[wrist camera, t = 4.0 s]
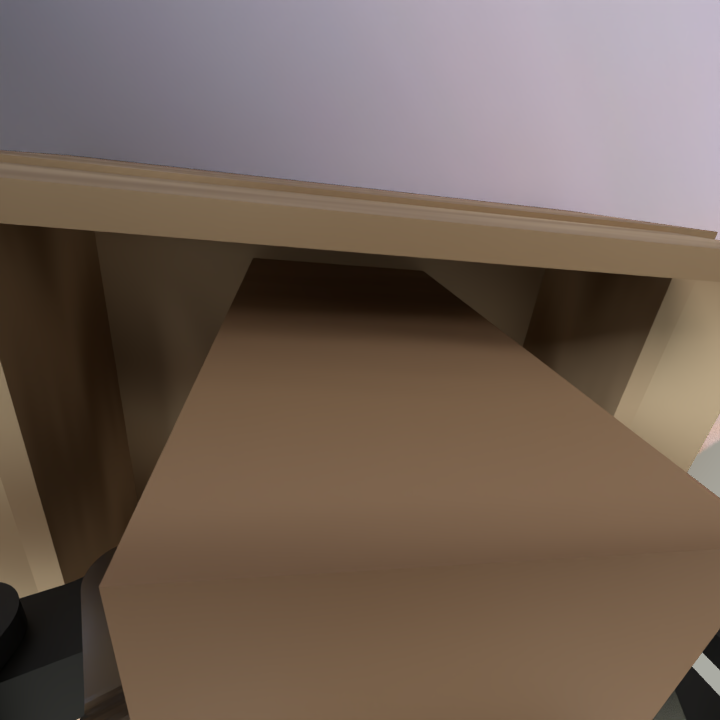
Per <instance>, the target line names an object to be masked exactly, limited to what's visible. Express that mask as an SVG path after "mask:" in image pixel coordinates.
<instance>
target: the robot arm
mask: <svg viewBox="0 0 720 720" xmlns="http://www.w3.org/2000/svg"><path fill="white" fill-rule="evenodd" d="M117 547H118V546H116V547H114V548H112V549H110V550H109V551H107V552H106V553H104V554H103V555H102V556H101V557H99V558H98V559H97V560H96V561H95V562H94V563H93V564H92V565H91V566H90V568H89V569H88V570H87V572H86V574H85V576H84V577H82V578H79V579H77V580H75V581H73V582H70V583H67V584H64V585H61V586H58V587H55V588H51V589H48V590H45V591H42V592H39V593H35V594H32V595H29V596H26V597H22V598H19V595H18V593H17V591H16V590H15V588H13V587H12V586H11V585H9V584H6V583H3V582H0V720H77V719H79V718H80V720H130V717H129V712H128V708H127V704H126V700H125V696H124V691H123V687H122V683H121V679H120V675H119V670H118V666H117V662H116V658H115V654H114V649H113V645H112V641H111V637H110V633H109V628H108V624H107V620H106V616H105V612H104V607H103V603H102V599H101V595H100V591H99V585H100V583H101V581H102V579H103V577H104V575H105V573H106V570H107V568H108V566H109V564H110V562H111V560H112V558H113V555H114V553H115V551H116V549H117ZM703 653H704V654H705V655H706V656H707V658H708V659H709V660H711V661H712V663H713V664H714V665H716V666H717V668H718V669H719V670H720V629H719V630H718V632H717V633H716V634H715V636H714V637H713V638H712V640H711V641H710V642H709V644H708V645H707V646H706V648H705V649H704V651H703ZM653 720H720V696H719V695H718V694H717V693H716V692H715V691H714V690H713V688H712V687H711V686H710V685H709V684H708V683H707V682H706V681H705V680H704V679H703V678H702V677H701V676H700V675H699V674H698V673H697V671H696V670H695V669H694V668H693V667H691V668H690V669H689V671H688V672H687V674H686V675H685V676H684V678H683V679H682V680H681V682H680V683H679V684H678V686H677V687H676V688H675V690H674V691H673V692H672V694H671V695H670V697H669V698H668V699H667V701H666V702H665V703H664V705H663V706H662V707H661V709H660V710H659V711H658V713H657V714H656V715H655V717H654V718H653Z"/></svg>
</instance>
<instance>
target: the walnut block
mask: <svg viewBox="0 0 720 720" xmlns="http://www.w3.org/2000/svg"><path fill="white" fill-rule="evenodd" d="M99 591H100V595H101V599H102V603H103V607H104V612H105V616H106V620H107V624H108V628H109V633H110V637H111V641H112V645H113V649H114V654H115V658H116V662H117V666H118V670H119V675H120V679H121V683H122V687H123V691H124V696H125V700H126V704H127V708H128V712H129V717H130V720H653V718H654V717H655V715H656V714H657V713H658V711H659V710H660V709H661V707H662V706H663V705H664V703H665V702H666V701H667V699H668V698H669V697H670V695H671V694H672V692H673V691H674V690H675V688H676V687H677V686H678V684H679V683H680V682H681V680H682V679H683V678H684V676H685V675H686V674H687V672H688V671H689V669H690V668H691V667H692V665H693V664H694V663H695V661H696V660H697V659H698V657H699V656H700V655H701V653H702V652H703V651H704V649H705V648H706V646H707V645H708V644H709V642H710V641H711V640H712V638H713V637H714V636H715V634H716V633H717V632H718V630H719V629H720V498H719V497H718V496H716V495H715V494H714V493H713V492H711V491H710V490H709V489H707V488H706V487H705V486H703V485H702V484H701V483H699V482H698V481H697V480H696V479H694V478H693V477H691V476H690V475H689V474H688V473H686V472H685V471H684V470H683V469H681V468H680V467H679V466H677V465H676V464H675V463H673V462H672V461H671V460H670V459H668V458H667V457H666V456H664V455H663V454H662V453H660V452H659V451H658V450H656V449H655V448H654V447H653V446H651V445H650V444H649V443H647V442H646V441H645V440H643V439H642V438H641V437H639V436H638V435H637V434H636V433H634V432H633V431H632V430H630V429H629V428H628V427H626V426H625V425H624V424H623V423H621V422H620V421H619V420H617V419H616V418H615V417H613V416H612V415H611V414H609V413H608V412H607V411H606V410H604V409H603V408H602V407H600V406H599V405H598V404H596V403H595V402H594V401H592V400H591V399H590V398H589V397H587V396H586V395H585V394H583V393H582V392H581V391H579V390H578V389H577V388H576V387H574V386H573V385H572V384H570V383H569V382H568V381H566V380H565V379H564V378H562V377H561V376H560V375H559V374H557V373H556V372H555V371H553V370H552V369H551V368H549V367H548V366H547V365H546V364H544V363H543V362H542V361H540V360H539V359H538V358H536V357H535V356H534V355H532V354H531V353H530V352H529V351H527V350H526V349H525V348H523V347H522V346H521V345H519V344H518V343H517V342H515V341H514V340H513V339H512V338H510V337H509V336H508V335H506V334H505V333H504V332H502V331H501V330H500V329H499V328H497V327H496V326H495V325H493V324H492V323H491V322H489V321H488V320H487V319H485V318H484V317H483V316H482V315H480V314H479V313H478V312H476V311H475V310H474V309H472V308H471V307H470V306H469V305H467V304H466V303H465V302H463V301H462V300H461V299H459V298H458V297H457V296H455V295H454V294H453V293H452V292H450V291H449V290H448V289H446V288H445V287H444V286H442V285H441V284H440V283H438V282H437V281H436V280H435V279H433V278H432V277H431V276H429V275H428V274H427V273H425V272H424V271H420V270H407V269H394V268H380V267H367V266H354V265H341V264H328V263H314V262H301V261H288V260H275V259H262V258H253V259H252V261H251V264H250V266H249V268H248V270H247V272H246V274H245V276H244V279H243V281H242V283H241V285H240V287H239V289H238V291H237V293H236V296H235V298H234V300H233V302H232V304H231V306H230V308H229V310H228V313H227V315H226V317H225V319H224V321H223V323H222V325H221V328H220V330H219V332H218V334H217V336H216V338H215V340H214V342H213V345H212V347H211V349H210V351H209V353H208V355H207V357H206V359H205V362H204V364H203V366H202V368H201V370H200V372H199V374H198V377H197V379H196V381H195V383H194V385H193V387H192V389H191V391H190V394H189V396H188V398H187V400H186V402H185V404H184V406H183V408H182V411H181V413H180V415H179V417H178V419H177V421H176V423H175V426H174V428H173V430H172V432H171V434H170V436H169V438H168V440H167V443H166V445H165V447H164V449H163V451H162V453H161V455H160V457H159V460H158V462H157V464H156V466H155V468H154V470H153V472H152V475H151V477H150V479H149V481H148V483H147V485H146V487H145V489H144V492H143V494H142V496H141V498H140V500H139V502H138V504H137V506H136V509H135V511H134V513H133V515H132V517H131V519H130V521H129V524H128V526H127V528H126V530H125V532H124V534H123V536H122V538H121V541H120V543H119V545H118V547H117V549H116V551H115V553H114V555H113V558H112V560H111V562H110V564H109V566H108V568H107V570H106V573H105V575H104V577H103V579H102V581H101V583H100V585H99Z"/></svg>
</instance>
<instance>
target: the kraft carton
mask: <svg viewBox="0 0 720 720" xmlns="http://www.w3.org/2000/svg"><path fill="white" fill-rule="evenodd" d="M717 233H718V232H714V231H707V230H700V229H693V228H686V227H679V226H672V225H665V224H658V223H651V222H644V221H637V220H630V219H623V218H616V217H609V216H602V215H595V214H588V213H581V212H574V211H566V210H557V209H548V208H539V207H530V206H521V205H512V204H503V203H494V202H485V201H476V200H467V199H458V198H449V197H440V196H431V195H422V194H413V193H404V192H395V191H386V190H377V189H368V188H359V187H350V186H341V185H332V184H323V183H314V182H305V181H296V180H287V179H278V178H269V177H260V176H251V175H242V174H233V173H224V172H215V171H206V170H197V169H188V168H179V167H170V166H161V165H152V164H143V163H134V162H125V161H116V160H107V159H98V158H89V157H80V156H71V155H59V154H45V153H31V152H17V151H3V150H0V582H3V583H6V584H9V585H11V586H12V587H13V588H15V590H16V591H17V593H18V595H19V598H22V597H26V596H29V595H32V594H35V593H39V592H42V591H45V590H48V589H51V588H55V587H58V586H61V585H64V584H67V583H70V582H73V581H75V580H77V579H79V578H82V577H84V576H85V574H86V572H87V570H88V569H89V568H90V566H91V565H92V564H93V563H94V562H95V561H96V560H97V559H98V558H99V557H101V556H102V555H103V554H104V553H106V552H107V551H109V550H110V549H112V548H114V547H116V546H118V545H119V543H120V541H121V538H122V536H123V534H124V532H125V530H126V528H127V526H128V524H129V521H130V519H131V517H132V515H133V513H134V511H135V509H136V506H137V504H138V502H139V500H140V498H141V496H142V494H143V492H144V489H145V487H146V485H147V483H148V481H149V479H150V477H151V475H152V472H153V470H154V468H155V466H156V464H157V462H158V460H159V457H160V455H161V453H162V451H163V449H164V447H165V445H166V443H167V440H168V438H169V436H170V434H171V432H172V430H173V428H174V426H175V423H176V421H177V419H178V417H179V415H180V413H181V411H182V408H183V406H184V404H185V402H186V400H187V398H188V396H189V394H190V391H191V389H192V387H193V385H194V383H195V381H196V379H197V377H198V374H199V372H200V370H201V368H202V366H203V364H204V362H205V359H206V357H207V355H208V353H209V351H210V349H211V347H212V345H213V342H214V340H215V338H216V336H217V334H218V332H219V330H220V328H221V325H222V323H223V321H224V319H225V317H226V315H227V313H228V310H229V308H230V306H231V304H232V302H233V300H234V298H235V296H236V293H237V291H238V289H239V287H240V285H241V283H242V281H243V279H244V276H245V274H246V272H247V270H248V268H249V266H250V264H251V261H252V259H253V258H262V259H275V260H288V261H301V262H314V263H328V264H341V265H354V266H367V267H380V268H394V269H407V270H420V271H424V272H425V273H427V274H428V275H429V276H431V277H432V278H433V279H435V280H436V281H437V282H438V283H440V284H441V285H442V286H444V287H445V288H446V289H448V290H449V291H450V292H452V293H453V294H454V295H455V296H457V297H458V298H459V299H461V300H462V301H463V302H465V303H466V304H467V305H469V306H470V307H471V308H472V309H474V310H475V311H476V312H478V313H479V314H480V315H482V316H483V317H484V318H485V319H487V320H488V321H489V322H491V323H492V324H493V325H495V326H496V327H497V328H499V329H500V330H501V331H502V332H504V333H505V334H506V335H508V336H509V337H510V338H512V339H513V340H514V341H515V342H517V343H518V344H519V345H521V346H522V347H523V348H525V349H526V350H527V351H529V352H530V353H531V354H532V355H534V356H535V357H536V358H538V359H539V360H540V361H542V362H543V363H544V364H546V365H547V366H548V367H549V368H551V369H552V370H553V371H555V372H556V373H557V374H559V375H560V376H561V377H562V378H564V379H565V380H566V381H568V382H569V383H570V384H572V385H573V386H574V387H576V388H577V389H578V390H579V391H581V392H582V393H583V394H585V395H586V396H587V397H589V398H590V399H591V400H592V401H594V402H595V403H596V404H598V405H599V406H600V407H602V408H603V409H604V410H606V411H607V412H608V413H609V414H611V415H612V416H613V417H615V418H616V419H617V420H619V421H620V422H621V423H623V424H624V425H625V426H626V427H628V428H629V429H630V430H632V431H633V432H634V433H636V434H637V435H638V436H639V437H641V438H642V439H643V440H645V441H646V442H647V443H649V444H650V445H651V446H653V447H654V448H655V449H656V450H658V451H659V452H660V453H662V454H663V455H664V456H666V457H667V458H668V459H670V460H671V461H672V462H673V463H675V464H676V465H677V466H679V467H680V468H681V469H683V470H684V471H685V472H686V473H687V472H688V470H689V468H690V466H691V464H692V463H693V461H694V459H695V457H696V455H697V454H698V452H699V450H700V448H701V446H702V444H703V443H704V441H705V439H706V437H707V435H708V434H709V432H710V430H711V428H712V426H713V424H714V423H715V421H716V419H717V417H718V415H719V414H720V240H714V239H715V237H716V235H717Z"/></svg>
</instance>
